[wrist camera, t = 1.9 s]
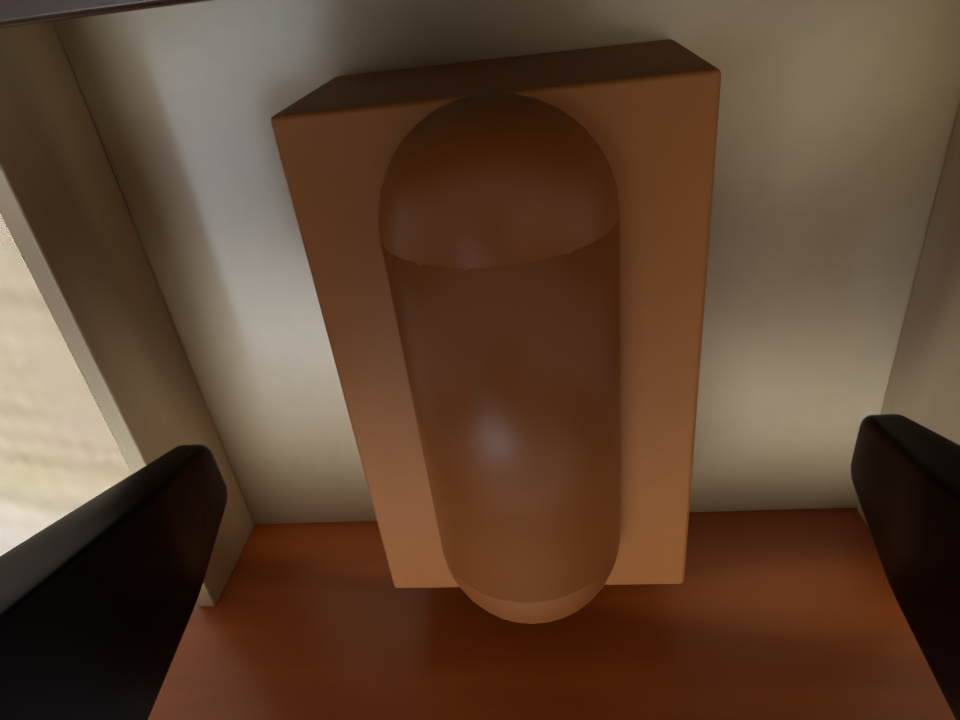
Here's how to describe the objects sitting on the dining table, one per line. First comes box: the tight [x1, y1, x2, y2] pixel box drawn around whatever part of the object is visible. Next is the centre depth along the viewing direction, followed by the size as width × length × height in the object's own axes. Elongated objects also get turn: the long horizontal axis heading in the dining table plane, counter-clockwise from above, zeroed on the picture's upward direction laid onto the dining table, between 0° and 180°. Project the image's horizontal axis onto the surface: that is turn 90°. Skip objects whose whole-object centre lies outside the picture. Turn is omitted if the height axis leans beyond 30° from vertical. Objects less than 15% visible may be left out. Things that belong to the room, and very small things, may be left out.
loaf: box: [271, 39, 721, 624], centre depth 11 cm, size 9×6×5 cm, turn 6°
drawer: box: [0, 0, 960, 720], centre depth 11 cm, size 21×17×6 cm
